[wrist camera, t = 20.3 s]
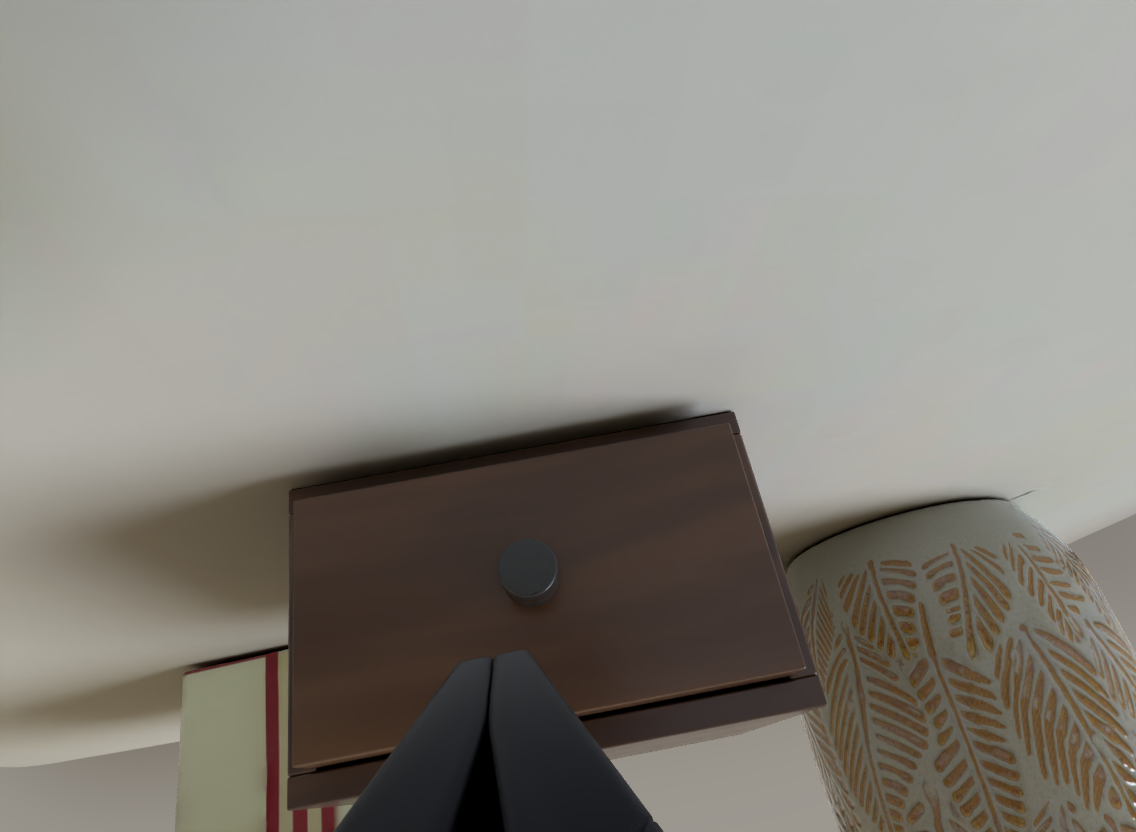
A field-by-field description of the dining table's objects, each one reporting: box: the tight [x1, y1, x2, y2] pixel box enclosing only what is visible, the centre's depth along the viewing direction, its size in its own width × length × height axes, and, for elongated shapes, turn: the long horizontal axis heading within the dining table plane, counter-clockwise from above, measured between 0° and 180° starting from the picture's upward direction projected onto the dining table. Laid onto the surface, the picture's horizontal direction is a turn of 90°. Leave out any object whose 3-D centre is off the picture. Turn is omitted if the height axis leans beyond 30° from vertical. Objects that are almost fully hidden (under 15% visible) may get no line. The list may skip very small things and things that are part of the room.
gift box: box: [175, 649, 353, 832], centre depth 42 cm, size 17×18×17 cm
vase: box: [786, 500, 1136, 832], centre depth 37 cm, size 17×17×27 cm
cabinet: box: [287, 412, 827, 811], centre depth 27 cm, size 14×15×9 cm
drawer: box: [292, 423, 806, 769], centre depth 25 cm, size 14×13×7 cm
